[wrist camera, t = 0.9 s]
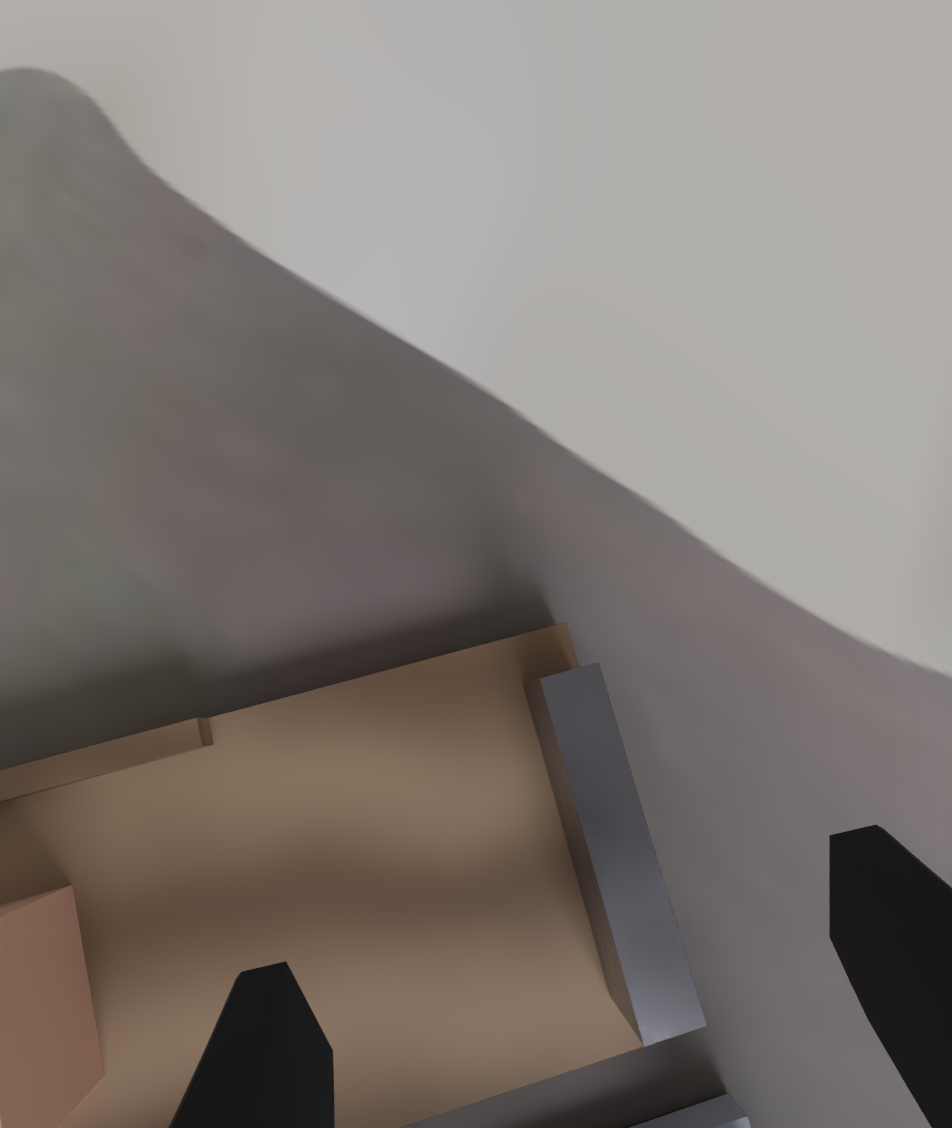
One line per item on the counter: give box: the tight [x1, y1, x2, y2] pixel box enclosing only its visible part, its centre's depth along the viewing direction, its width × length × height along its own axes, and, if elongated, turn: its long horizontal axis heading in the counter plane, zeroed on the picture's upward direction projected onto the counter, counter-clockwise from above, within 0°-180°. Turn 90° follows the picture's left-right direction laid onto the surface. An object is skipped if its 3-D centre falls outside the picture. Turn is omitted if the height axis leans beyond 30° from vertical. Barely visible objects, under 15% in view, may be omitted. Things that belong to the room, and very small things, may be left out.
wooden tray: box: [0, 622, 707, 1128], centre depth 21 cm, size 12×22×5 cm, turn 105°
